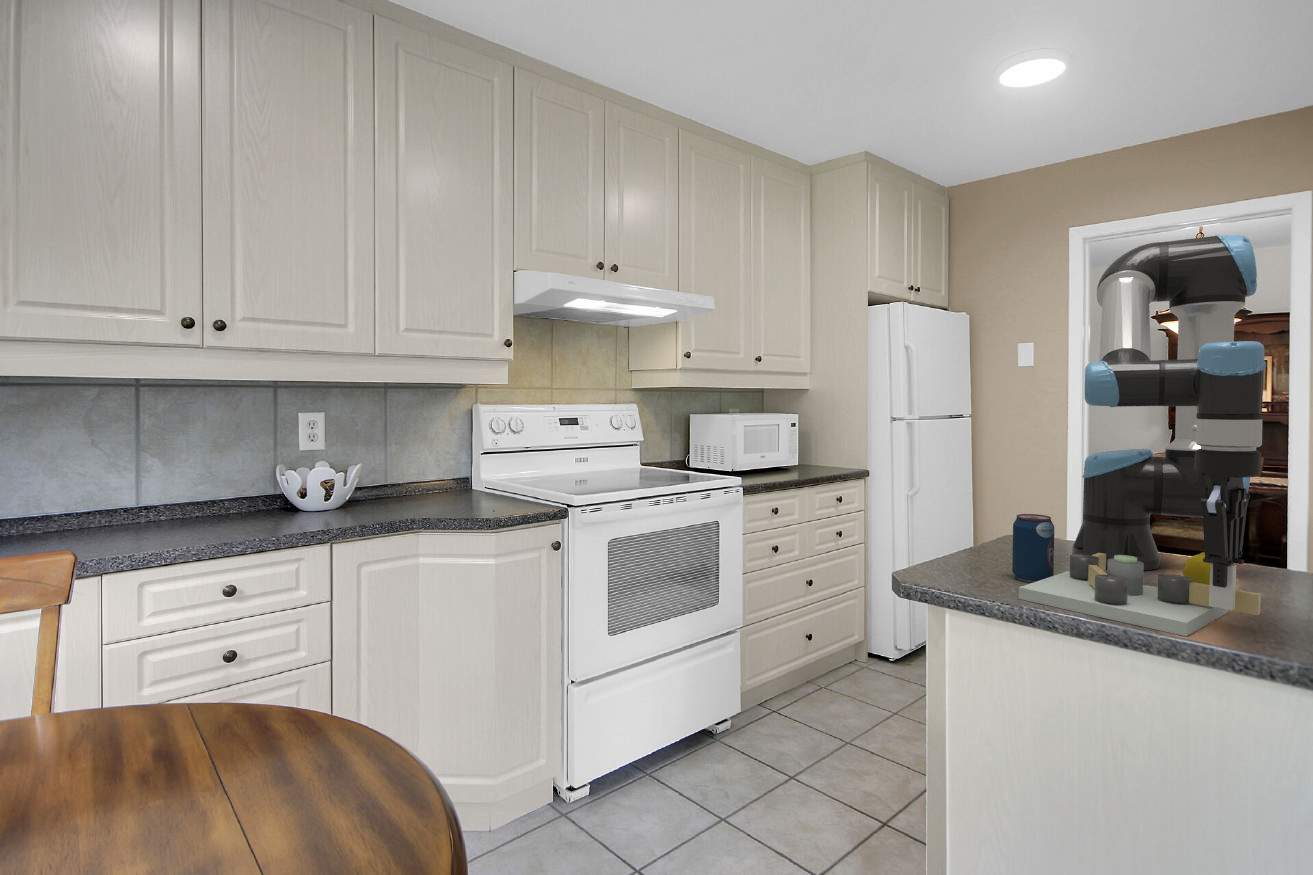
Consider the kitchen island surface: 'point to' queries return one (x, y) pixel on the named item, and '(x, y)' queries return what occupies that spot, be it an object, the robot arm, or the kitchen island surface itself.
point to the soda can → (1033, 547)
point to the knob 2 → (1202, 593)
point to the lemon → (1197, 569)
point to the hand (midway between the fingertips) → (1221, 606)
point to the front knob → (1108, 586)
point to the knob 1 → (1085, 564)
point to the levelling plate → (1137, 610)
